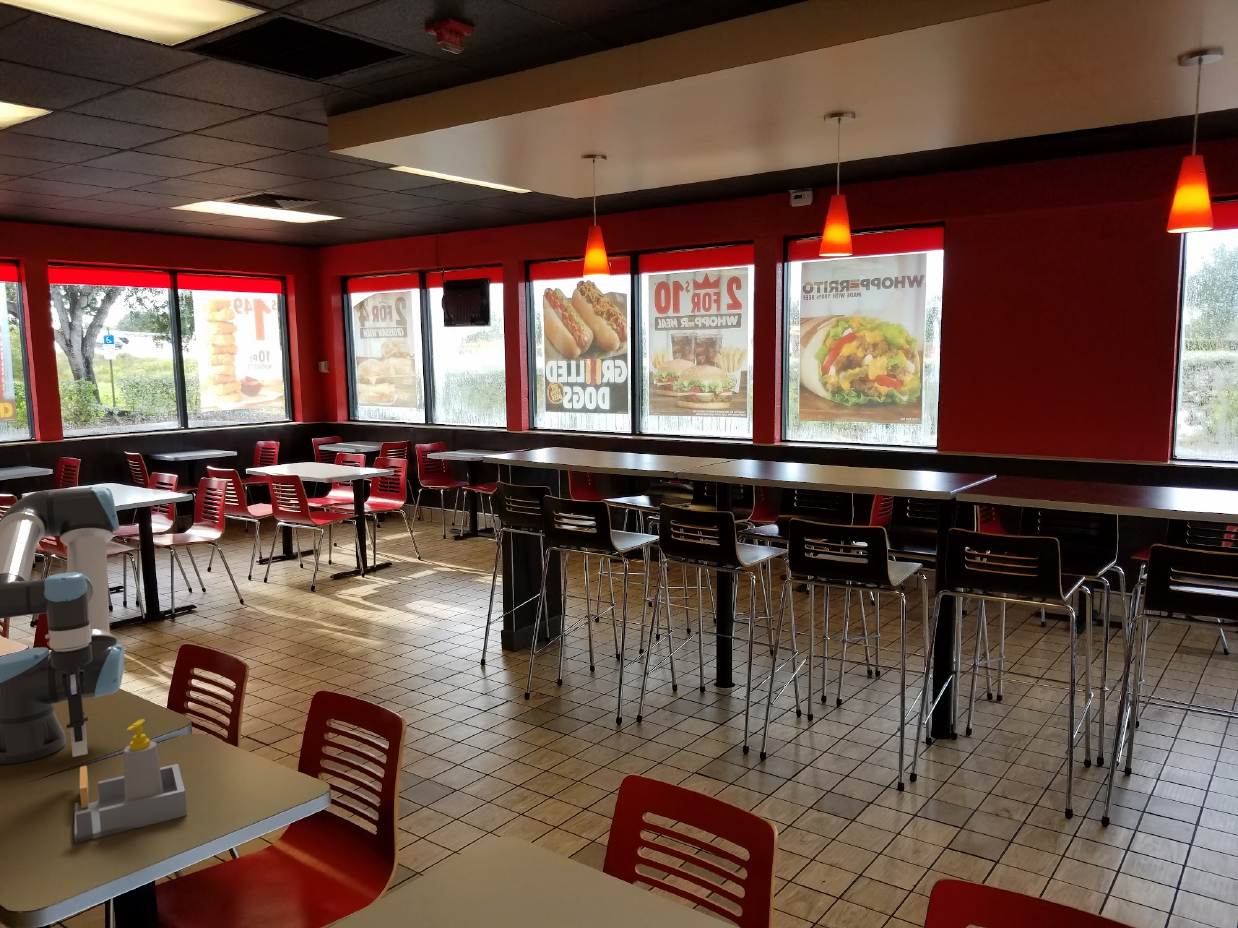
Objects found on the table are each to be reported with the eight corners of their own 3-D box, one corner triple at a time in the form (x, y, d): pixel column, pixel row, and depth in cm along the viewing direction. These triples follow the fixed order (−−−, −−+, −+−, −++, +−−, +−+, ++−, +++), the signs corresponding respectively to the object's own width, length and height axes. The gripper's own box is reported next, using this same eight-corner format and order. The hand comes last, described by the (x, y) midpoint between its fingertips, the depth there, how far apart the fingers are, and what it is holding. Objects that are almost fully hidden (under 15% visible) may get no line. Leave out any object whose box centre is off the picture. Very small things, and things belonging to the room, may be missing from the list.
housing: (75, 810, 176) (73, 784, 175) (179, 786, 185) (177, 761, 185) (75, 843, 163) (72, 815, 162) (186, 815, 173) (184, 788, 172)
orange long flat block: (81, 785, 184) (79, 766, 184) (88, 783, 185) (86, 765, 184) (81, 808, 174) (79, 788, 174) (88, 806, 175) (86, 787, 174)
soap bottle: (117, 819, 169) (110, 729, 168) (137, 802, 176) (130, 715, 175) (153, 818, 169) (146, 728, 168) (171, 801, 176) (164, 714, 175)
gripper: (50, 642, 190) (60, 748, 192) (48, 656, 179) (58, 768, 181) (91, 636, 194) (99, 740, 196) (91, 650, 183) (100, 760, 185)
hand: (80, 753), depth 189 cm, fingers closed
